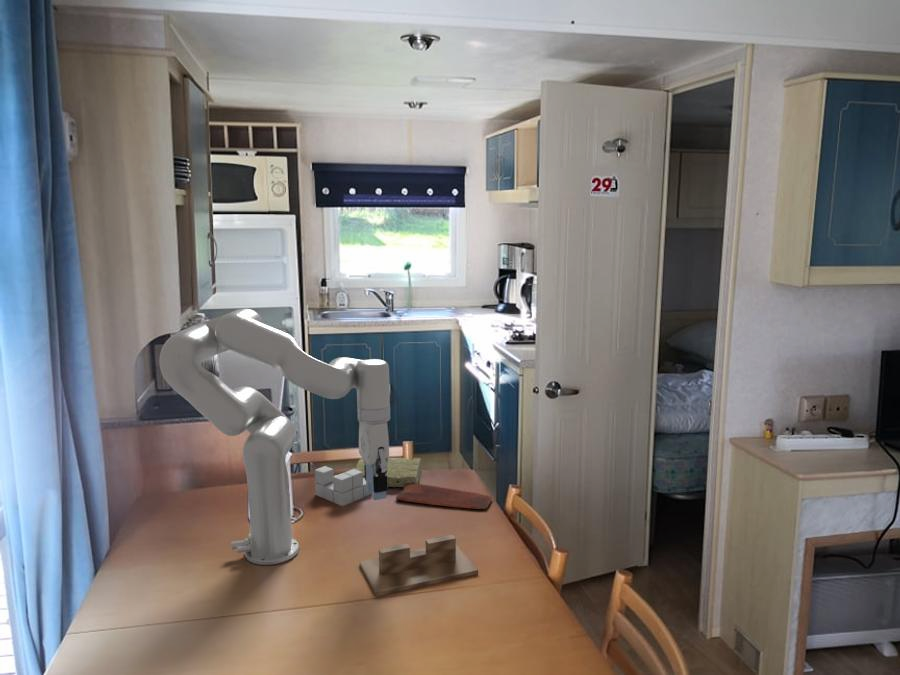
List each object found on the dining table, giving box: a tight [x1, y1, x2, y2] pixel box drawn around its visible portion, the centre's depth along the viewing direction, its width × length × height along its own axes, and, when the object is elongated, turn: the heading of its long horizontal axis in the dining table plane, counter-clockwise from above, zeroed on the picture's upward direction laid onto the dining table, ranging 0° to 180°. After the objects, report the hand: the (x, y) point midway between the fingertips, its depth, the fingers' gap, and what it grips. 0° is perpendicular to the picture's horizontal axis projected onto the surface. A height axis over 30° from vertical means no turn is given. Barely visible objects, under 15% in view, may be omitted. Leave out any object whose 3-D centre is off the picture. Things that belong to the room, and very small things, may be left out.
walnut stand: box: [359, 534, 479, 597], centre depth 157 cm, size 24×14×6 cm, turn 112°
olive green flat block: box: [355, 457, 422, 488], centre depth 210 cm, size 19×6×20 cm
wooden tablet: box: [395, 483, 493, 510], centre depth 194 cm, size 27×10×2 cm, turn 74°
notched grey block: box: [366, 460, 387, 501], centre depth 161 cm, size 7×3×8 cm, turn 23°
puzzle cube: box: [314, 465, 372, 507], centre depth 198 cm, size 12×12×8 cm
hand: (375, 485), depth 161 cm, fingers closed on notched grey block, 6 cm apart
